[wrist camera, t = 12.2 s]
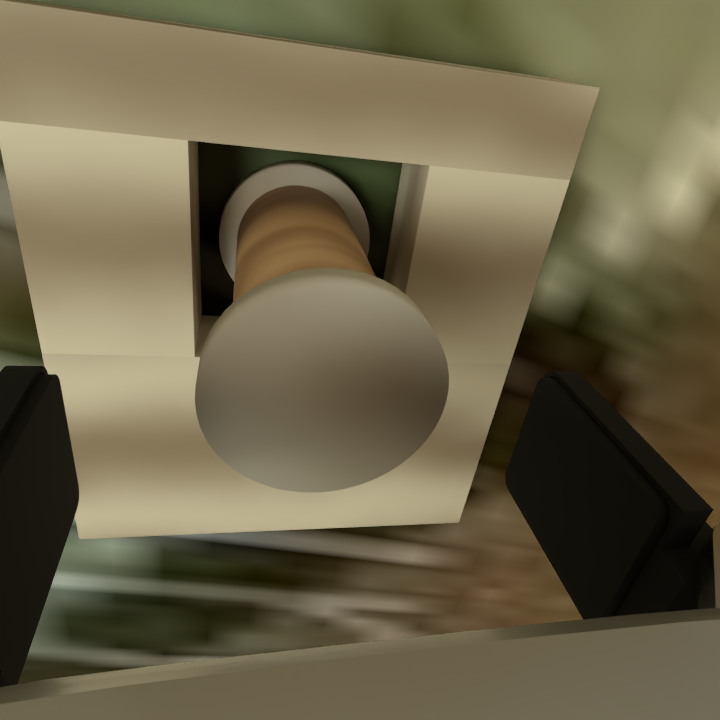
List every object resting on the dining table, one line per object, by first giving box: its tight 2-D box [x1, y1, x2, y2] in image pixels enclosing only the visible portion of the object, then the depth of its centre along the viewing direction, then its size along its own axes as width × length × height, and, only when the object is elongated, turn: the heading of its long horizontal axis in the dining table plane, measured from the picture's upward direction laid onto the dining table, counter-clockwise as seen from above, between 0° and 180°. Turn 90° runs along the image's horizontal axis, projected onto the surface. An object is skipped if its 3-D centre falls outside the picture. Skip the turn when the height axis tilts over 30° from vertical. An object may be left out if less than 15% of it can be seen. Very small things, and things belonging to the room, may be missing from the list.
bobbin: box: [195, 161, 449, 493], centre depth 15 cm, size 5×5×10 cm
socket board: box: [0, 0, 600, 539], centre depth 20 cm, size 18×16×3 cm
